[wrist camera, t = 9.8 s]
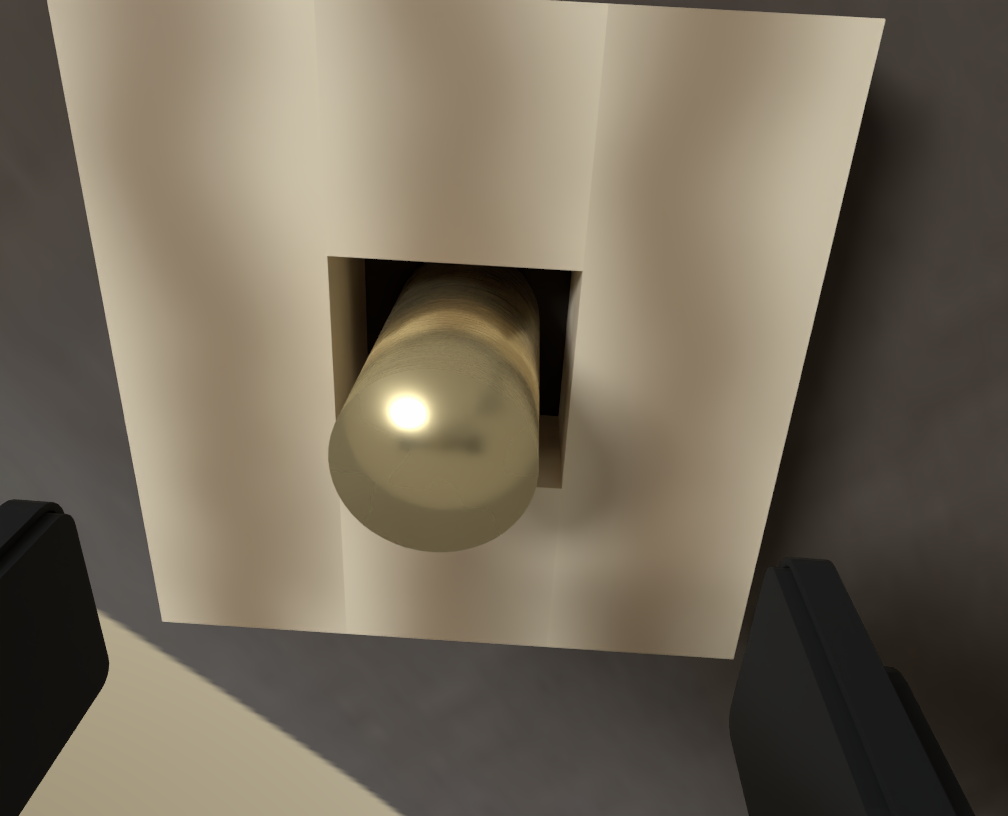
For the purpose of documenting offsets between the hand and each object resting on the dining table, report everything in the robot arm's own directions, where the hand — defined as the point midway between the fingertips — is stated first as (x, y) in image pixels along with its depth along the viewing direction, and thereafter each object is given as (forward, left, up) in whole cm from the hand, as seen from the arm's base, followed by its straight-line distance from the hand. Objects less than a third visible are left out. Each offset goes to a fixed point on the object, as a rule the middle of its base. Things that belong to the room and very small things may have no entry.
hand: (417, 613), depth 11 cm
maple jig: (0, 0, -13) cm, 13 cm away
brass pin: (0, 0, -13) cm, 13 cm away
